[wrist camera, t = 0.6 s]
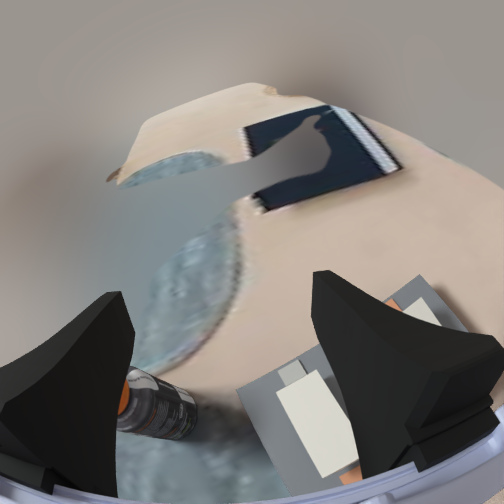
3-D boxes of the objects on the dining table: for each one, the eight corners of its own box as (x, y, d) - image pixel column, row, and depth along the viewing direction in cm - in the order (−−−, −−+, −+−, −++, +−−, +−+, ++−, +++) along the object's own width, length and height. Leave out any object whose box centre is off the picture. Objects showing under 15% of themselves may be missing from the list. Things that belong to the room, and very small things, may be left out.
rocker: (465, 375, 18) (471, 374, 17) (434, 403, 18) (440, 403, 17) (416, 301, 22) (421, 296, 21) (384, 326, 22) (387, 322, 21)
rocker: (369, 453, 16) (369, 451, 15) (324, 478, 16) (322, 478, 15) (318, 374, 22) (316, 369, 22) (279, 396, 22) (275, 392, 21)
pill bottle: (187, 379, 29) (120, 341, 20) (207, 429, 25) (138, 413, 17) (143, 399, 29) (69, 368, 20) (159, 447, 25) (80, 434, 16)
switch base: (487, 382, 19) (503, 372, 17) (307, 508, 18) (302, 517, 15) (414, 289, 28) (420, 270, 25) (245, 395, 26) (233, 388, 24)
